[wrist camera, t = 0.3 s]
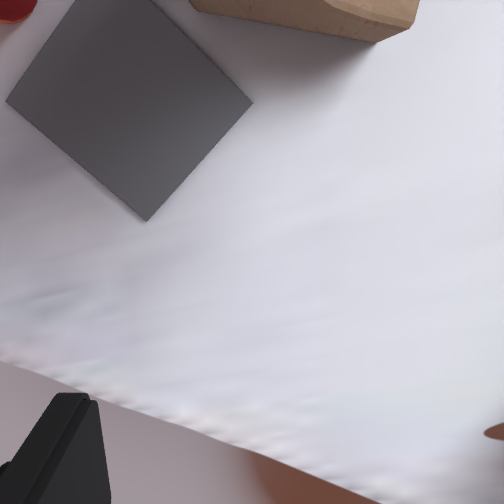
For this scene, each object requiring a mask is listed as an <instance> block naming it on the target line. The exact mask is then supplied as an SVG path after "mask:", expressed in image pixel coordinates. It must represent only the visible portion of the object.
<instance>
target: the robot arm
mask: <svg viewBox="0 0 504 504" xmlns="http://www.w3.org/2000/svg"><path fill="white" fill-rule="evenodd" d="M0 504H111V491H110V484H109V477H108V470H107V463H106V456H105V450H104V443H103V436H102V430H101V422H100V416H99V408H98V403H97V401H95V400H90V398H89V395H88V394H87V393H58V394H56V395H55V396H54V398H53V399H52V401H51V402H50V404H49V405H48V407H47V408H46V410H45V411H44V413H43V414H42V416H41V417H40V419H39V420H38V422H37V423H36V425H35V426H34V428H33V429H32V431H31V432H30V434H29V435H28V437H27V438H26V440H25V441H24V443H23V444H22V446H21V447H20V449H19V450H18V452H17V453H16V455H15V456H14V458H13V459H12V461H11V462H6V463H5V464H3V465H1V467H0Z"/></svg>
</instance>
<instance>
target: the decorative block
mask: <svg viewBox="0 0 504 504" xmlns="http://www.w3.org/2000/svg"><path fill="white" fill-rule="evenodd" d="M419 1H420V0H189V2H190V3H191V4H192V6H193V7H194V9H196V10H198V11H201V12H207V13H212V14H218V15H223V16H229V17H234V18H240V19H246V20H251V21H257V22H262V23H268V24H273V25H279V26H284V27H290V28H295V29H301V30H306V31H312V32H317V33H323V34H328V35H334V36H340V37H345V38H351V39H356V40H362V41H367V42H373V43H376V42H380V41H382V40H384V39H387V38H389V37H391V36H394V35H396V34H398V33H401V32H403V31H405V30H408V29H409V28H410V27H411V26H412V24H413V23H414V20H415V16H416V13H417V9H418V5H419Z"/></svg>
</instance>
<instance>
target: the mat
mask: <svg viewBox="0 0 504 504" xmlns="http://www.w3.org/2000/svg"><path fill="white" fill-rule="evenodd" d="M5 102H6V103H8V104H9V105H10V106H11V107H12V108H13V109H15V110H16V111H17V112H18V113H19V114H21V115H22V116H23V117H24V118H25V119H26V120H28V121H29V122H30V123H31V124H32V125H34V126H35V127H36V128H37V129H38V130H39V131H41V132H42V133H43V134H44V135H45V136H47V137H48V138H49V139H50V140H51V141H52V142H54V143H55V144H56V145H57V146H58V147H60V148H61V149H62V150H63V151H64V152H65V153H67V154H68V155H69V156H70V157H71V158H72V159H74V160H75V161H76V162H77V163H78V164H80V165H81V166H82V167H83V168H84V169H85V170H87V171H88V172H89V173H90V174H91V175H93V176H94V177H95V178H96V179H97V180H98V181H100V182H101V183H102V184H103V185H104V186H106V187H107V188H108V189H109V190H110V191H111V192H113V193H114V194H115V195H116V196H117V197H119V198H120V199H121V200H122V201H123V202H124V203H126V204H127V205H128V206H129V207H130V208H132V209H133V210H134V211H135V212H136V213H137V214H139V215H140V216H141V217H142V218H143V219H145V220H146V221H148V220H149V219H150V218H151V217H152V215H153V214H154V213H155V212H156V211H157V210H158V209H159V208H160V207H161V205H162V204H163V203H164V202H165V201H166V200H167V199H168V198H169V196H170V195H171V194H172V193H173V192H174V191H175V190H176V189H177V188H178V186H179V185H180V184H181V183H182V182H183V181H184V180H185V179H186V177H187V176H188V175H189V174H190V173H191V172H192V171H193V170H194V168H195V167H196V166H197V165H198V164H199V163H200V162H201V161H202V160H203V158H204V157H205V156H206V155H207V154H208V153H209V152H210V151H211V149H212V148H213V147H214V146H215V145H216V144H217V143H218V142H219V141H220V139H221V138H222V137H223V136H224V135H225V134H226V133H227V132H228V130H229V129H230V128H231V127H232V126H233V125H234V124H235V123H236V122H237V120H238V119H239V118H240V117H241V116H242V115H243V114H244V113H245V111H246V110H247V109H248V108H249V107H250V106H251V105H252V104H253V102H252V101H251V100H250V99H249V98H248V97H247V96H246V95H245V94H244V93H243V92H242V91H241V90H240V89H239V88H238V87H237V86H236V85H235V84H234V83H233V82H232V81H231V80H230V79H229V78H228V77H227V76H226V75H225V74H224V73H223V72H222V71H221V70H220V69H219V68H218V67H217V66H216V65H215V64H214V63H213V62H212V61H211V60H210V59H209V58H208V57H207V56H206V55H205V54H204V53H203V52H202V51H201V50H200V49H199V48H198V47H197V46H196V45H195V44H194V43H193V42H192V41H191V40H190V39H189V38H188V37H187V36H186V35H185V34H184V33H183V32H182V31H181V30H180V29H179V28H178V27H177V26H176V25H175V24H174V23H173V22H172V21H171V20H170V19H169V18H168V17H167V16H166V15H165V14H164V13H163V12H162V11H161V10H160V9H159V8H158V7H157V6H156V5H155V4H154V3H153V2H152V1H151V0H75V2H74V3H73V5H72V6H71V8H70V9H69V10H68V12H67V13H66V15H65V16H64V18H63V19H62V20H61V22H60V23H59V25H58V26H57V28H56V29H55V30H54V32H53V33H52V35H51V36H50V38H49V39H48V40H47V42H46V43H45V45H44V46H43V48H42V49H41V50H40V52H39V53H38V55H37V56H36V58H35V59H34V60H33V62H32V63H31V65H30V66H29V68H28V69H27V70H26V72H25V73H24V75H23V76H22V78H21V79H20V80H19V82H18V83H17V85H16V86H15V88H14V89H13V90H12V92H11V93H10V95H9V96H8V98H7V99H6V100H5Z"/></svg>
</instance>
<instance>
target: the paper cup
mask: <svg viewBox="0 0 504 504" xmlns="http://www.w3.org/2000/svg"><path fill="white" fill-rule="evenodd" d="M36 3H37V0H0V23H16V22H20V21H22V20H24V19H25V18H27V17H28V16H29V15H30V14H31V13H32V11H33V10H34V8H35V6H36Z"/></svg>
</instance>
